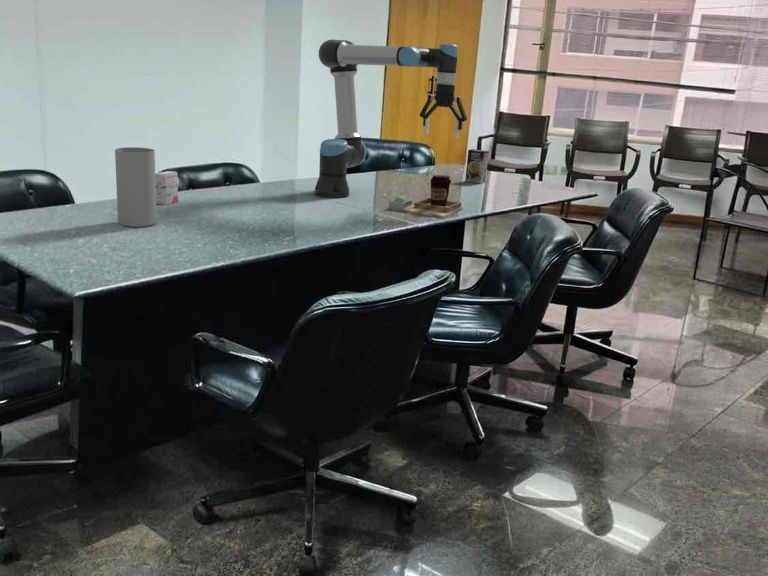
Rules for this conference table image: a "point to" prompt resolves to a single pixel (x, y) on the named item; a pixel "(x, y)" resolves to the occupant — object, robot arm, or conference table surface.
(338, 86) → the robot arm
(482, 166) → the coffee box
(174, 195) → the ink box
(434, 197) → the coffee cup
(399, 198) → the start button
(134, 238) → the conference table surface
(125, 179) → the cylinder vase
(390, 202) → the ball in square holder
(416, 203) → the tray
